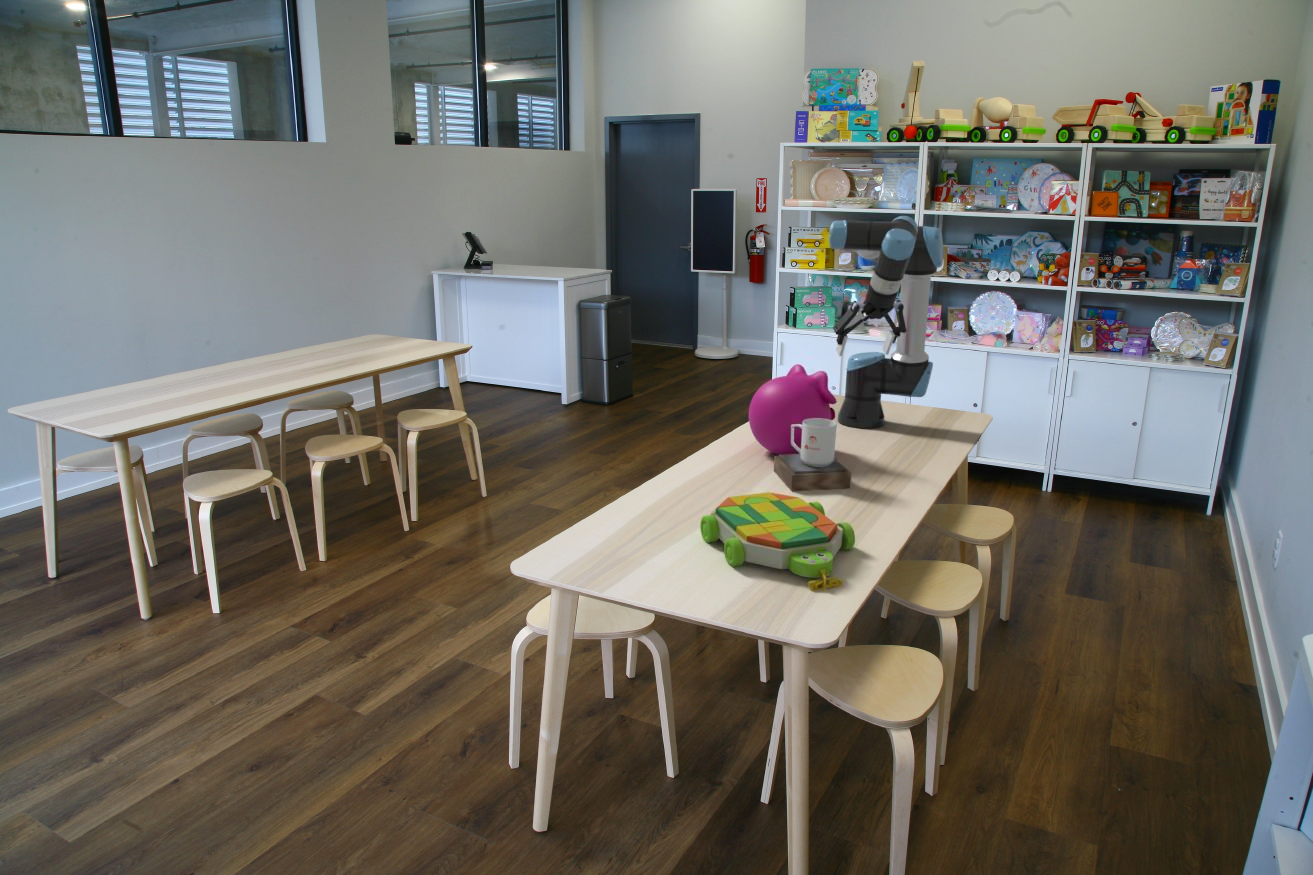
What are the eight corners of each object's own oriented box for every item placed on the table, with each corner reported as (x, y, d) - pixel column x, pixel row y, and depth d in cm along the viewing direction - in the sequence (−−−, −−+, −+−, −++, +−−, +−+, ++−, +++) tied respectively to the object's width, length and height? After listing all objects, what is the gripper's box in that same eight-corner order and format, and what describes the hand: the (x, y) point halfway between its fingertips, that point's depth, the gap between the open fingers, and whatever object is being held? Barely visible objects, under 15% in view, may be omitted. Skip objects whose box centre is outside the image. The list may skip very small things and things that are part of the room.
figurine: (846, 457, 248) (853, 373, 240) (782, 471, 236) (787, 383, 228) (794, 437, 267) (798, 358, 259) (732, 448, 255) (735, 366, 247)
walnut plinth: (828, 468, 238) (830, 451, 237) (850, 488, 223) (851, 470, 221) (773, 470, 236) (774, 453, 234) (791, 491, 220) (792, 472, 219)
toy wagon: (764, 602, 163) (766, 567, 161) (690, 529, 197) (691, 499, 195) (893, 580, 173) (896, 546, 171) (801, 513, 207) (803, 485, 204)
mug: (837, 460, 229) (840, 420, 226) (828, 470, 221) (831, 429, 218) (794, 453, 234) (797, 415, 231) (784, 462, 227) (786, 422, 223)
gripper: (843, 296, 215) (823, 362, 229) (934, 295, 220) (909, 359, 234) (834, 280, 220) (815, 345, 235) (922, 279, 225) (899, 342, 239)
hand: (862, 352), depth 234 cm, fingers open, 13 cm apart
